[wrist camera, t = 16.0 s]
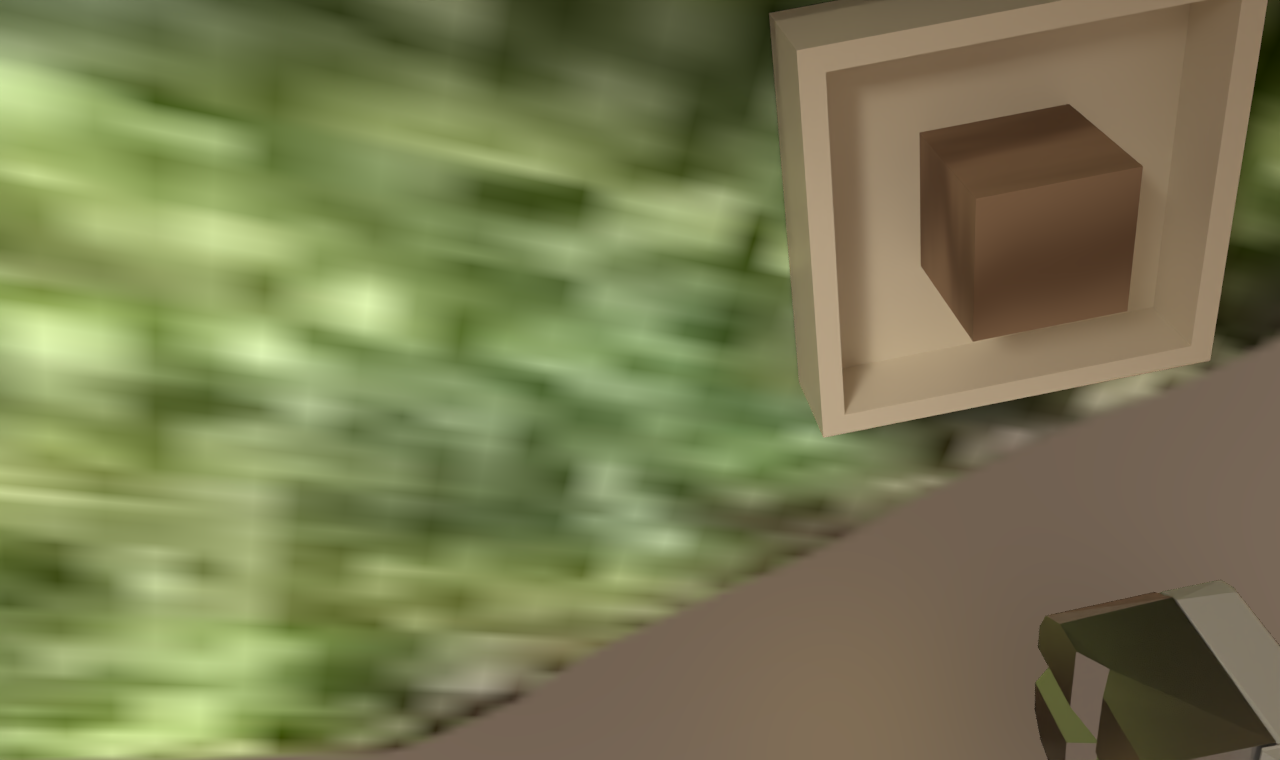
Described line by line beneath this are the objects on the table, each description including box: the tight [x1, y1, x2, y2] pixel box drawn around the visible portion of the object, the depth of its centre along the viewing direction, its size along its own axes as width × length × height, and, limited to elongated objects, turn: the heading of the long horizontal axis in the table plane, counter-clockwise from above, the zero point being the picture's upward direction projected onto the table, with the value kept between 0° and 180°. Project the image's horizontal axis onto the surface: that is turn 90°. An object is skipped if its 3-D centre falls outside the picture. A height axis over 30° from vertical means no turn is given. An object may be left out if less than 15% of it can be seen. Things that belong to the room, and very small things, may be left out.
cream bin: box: [769, 0, 1268, 438], centre depth 39 cm, size 14×14×4 cm
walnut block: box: [919, 104, 1143, 342], centre depth 38 cm, size 5×5×5 cm
